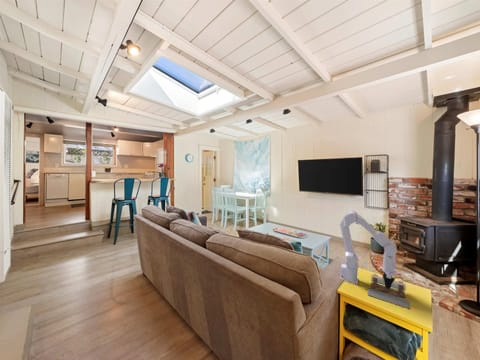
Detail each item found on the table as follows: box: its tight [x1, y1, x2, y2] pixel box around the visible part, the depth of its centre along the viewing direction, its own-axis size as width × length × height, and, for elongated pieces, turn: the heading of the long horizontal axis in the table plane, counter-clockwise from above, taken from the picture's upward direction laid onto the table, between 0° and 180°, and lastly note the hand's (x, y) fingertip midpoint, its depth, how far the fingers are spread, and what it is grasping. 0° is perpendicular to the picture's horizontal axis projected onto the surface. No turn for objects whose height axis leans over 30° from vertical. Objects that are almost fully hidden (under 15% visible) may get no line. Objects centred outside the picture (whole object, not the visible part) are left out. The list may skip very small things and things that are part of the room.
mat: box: [367, 287, 411, 310], centre depth 110 cm, size 18×8×1 cm, turn 54°
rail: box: [370, 274, 407, 292], centre depth 117 cm, size 16×3×3 cm, turn 54°
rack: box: [370, 274, 406, 299], centre depth 117 cm, size 16×6×6 cm, turn 54°
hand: (387, 284), depth 117 cm, fingers open, 7 cm apart
